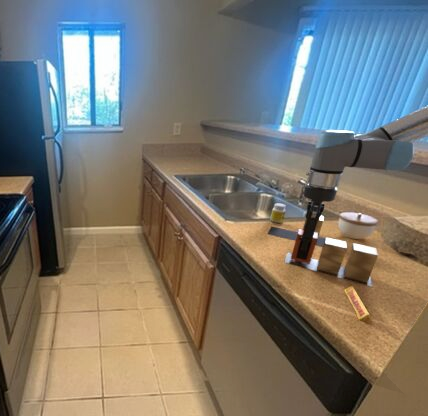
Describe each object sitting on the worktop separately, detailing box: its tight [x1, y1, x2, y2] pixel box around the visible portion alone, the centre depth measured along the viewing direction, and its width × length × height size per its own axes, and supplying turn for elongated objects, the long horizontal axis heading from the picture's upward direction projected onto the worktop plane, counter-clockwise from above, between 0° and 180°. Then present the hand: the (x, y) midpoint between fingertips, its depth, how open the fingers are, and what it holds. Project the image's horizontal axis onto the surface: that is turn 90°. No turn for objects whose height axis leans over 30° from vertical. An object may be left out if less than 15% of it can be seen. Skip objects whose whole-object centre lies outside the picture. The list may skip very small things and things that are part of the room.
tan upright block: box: [317, 236, 348, 275], centre depth 83 cm, size 5×5×9 cm
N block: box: [344, 242, 379, 283], centre depth 80 cm, size 5×5×9 cm
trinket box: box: [337, 212, 379, 240], centre depth 103 cm, size 11×11×9 cm
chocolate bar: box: [344, 284, 373, 324], centre depth 70 cm, size 3×12×2 cm, turn 154°
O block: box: [302, 215, 325, 243], centre depth 101 cm, size 5×5×9 cm
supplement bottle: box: [269, 202, 286, 226], centre depth 116 cm, size 5×5×8 cm
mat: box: [267, 225, 326, 248], centre depth 105 cm, size 18×9×1 cm, turn 51°
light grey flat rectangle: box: [284, 252, 373, 288], centre depth 85 cm, size 21×8×1 cm, turn 51°
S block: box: [291, 228, 318, 264], centre depth 87 cm, size 5×5×9 cm
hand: (301, 254), depth 88 cm, fingers closed on S block, 5 cm apart
